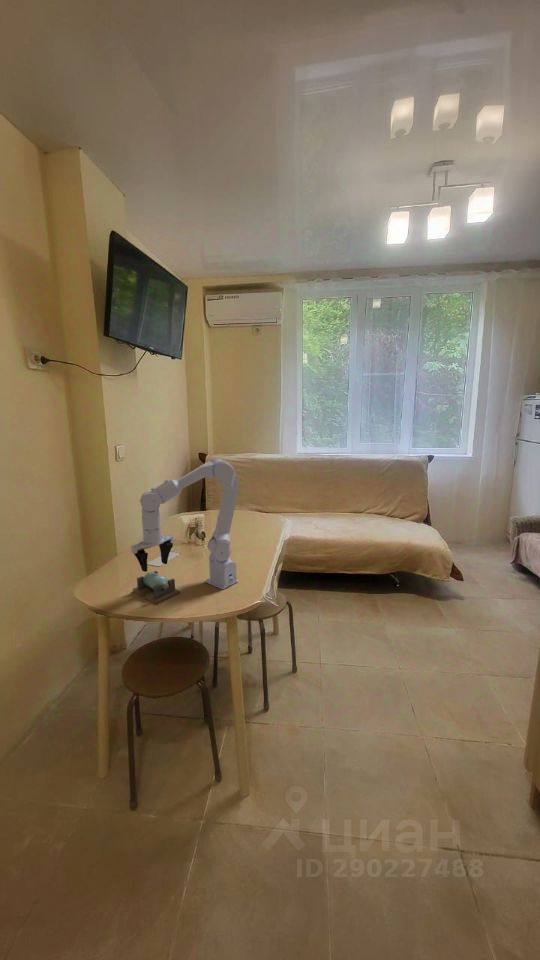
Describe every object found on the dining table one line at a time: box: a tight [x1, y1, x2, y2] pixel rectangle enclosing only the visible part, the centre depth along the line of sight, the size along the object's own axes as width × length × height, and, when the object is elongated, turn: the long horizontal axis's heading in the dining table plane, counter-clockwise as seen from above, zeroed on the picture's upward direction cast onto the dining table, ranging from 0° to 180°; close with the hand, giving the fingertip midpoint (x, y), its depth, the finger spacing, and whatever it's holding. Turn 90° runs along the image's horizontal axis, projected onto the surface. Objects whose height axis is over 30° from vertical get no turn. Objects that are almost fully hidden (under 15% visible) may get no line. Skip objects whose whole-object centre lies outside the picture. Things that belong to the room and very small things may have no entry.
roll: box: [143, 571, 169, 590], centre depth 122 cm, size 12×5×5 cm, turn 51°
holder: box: [132, 570, 181, 605], centre depth 122 cm, size 14×9×5 cm, turn 51°
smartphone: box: [147, 550, 182, 568], centre depth 151 cm, size 7×1×15 cm
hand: (154, 567), depth 121 cm, fingers open, 7 cm apart
